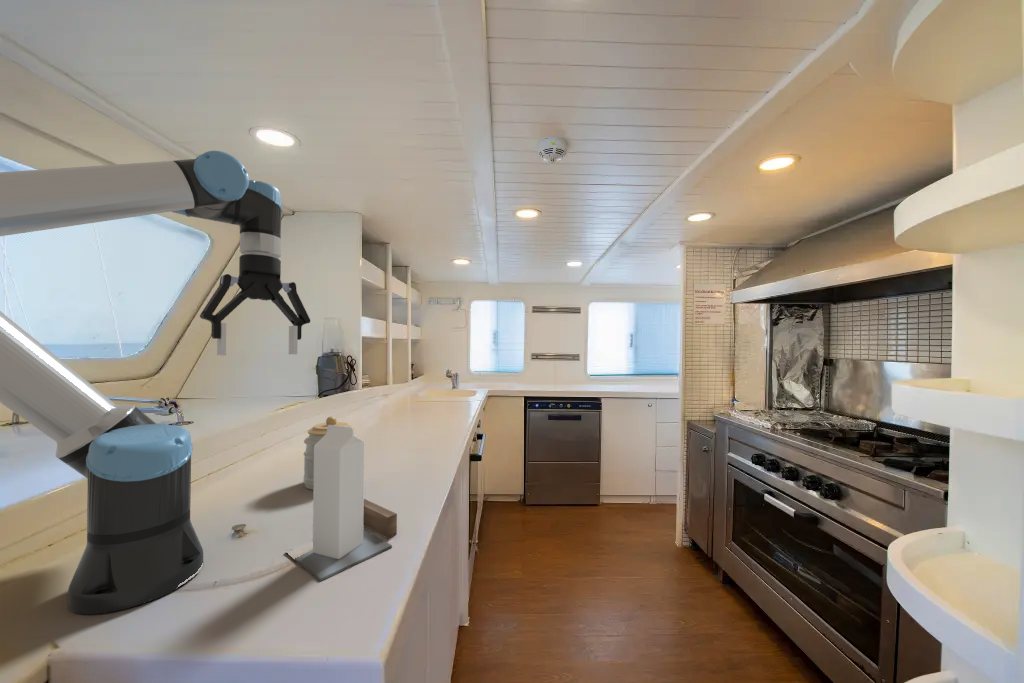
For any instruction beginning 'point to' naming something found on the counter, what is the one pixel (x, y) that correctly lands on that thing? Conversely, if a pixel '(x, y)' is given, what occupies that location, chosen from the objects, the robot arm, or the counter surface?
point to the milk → (338, 492)
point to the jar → (310, 441)
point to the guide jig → (371, 546)
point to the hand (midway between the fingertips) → (259, 355)
